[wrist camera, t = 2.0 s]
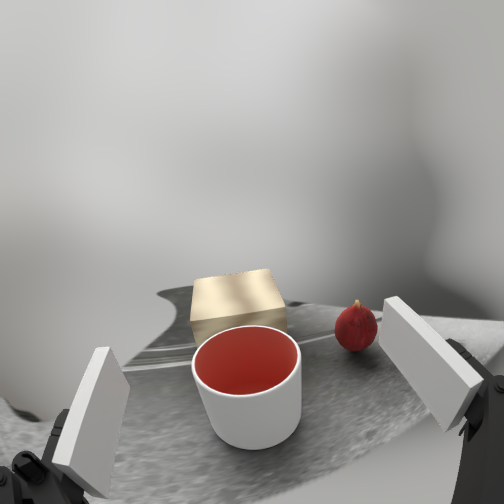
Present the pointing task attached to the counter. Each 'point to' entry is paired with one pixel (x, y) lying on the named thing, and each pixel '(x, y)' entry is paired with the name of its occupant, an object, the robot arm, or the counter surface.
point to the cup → (250, 385)
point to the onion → (356, 327)
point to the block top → (236, 304)
